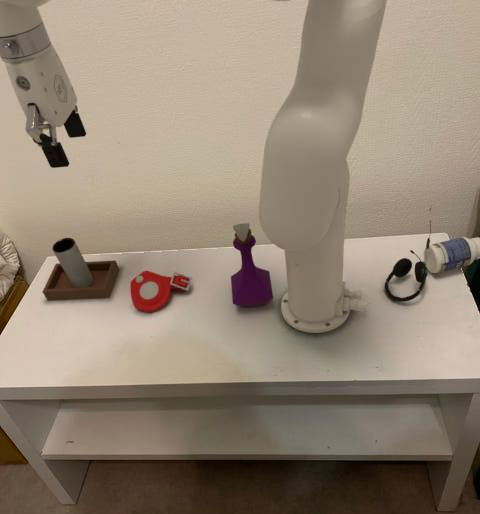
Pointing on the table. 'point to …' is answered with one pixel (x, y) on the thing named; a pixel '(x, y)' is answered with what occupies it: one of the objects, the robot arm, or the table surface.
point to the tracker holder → (155, 289)
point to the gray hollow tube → (73, 263)
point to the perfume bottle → (249, 273)
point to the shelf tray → (100, 288)
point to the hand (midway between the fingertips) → (69, 150)
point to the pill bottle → (452, 254)
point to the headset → (403, 269)
